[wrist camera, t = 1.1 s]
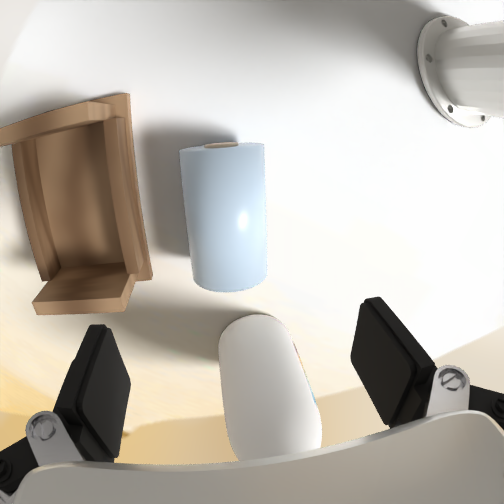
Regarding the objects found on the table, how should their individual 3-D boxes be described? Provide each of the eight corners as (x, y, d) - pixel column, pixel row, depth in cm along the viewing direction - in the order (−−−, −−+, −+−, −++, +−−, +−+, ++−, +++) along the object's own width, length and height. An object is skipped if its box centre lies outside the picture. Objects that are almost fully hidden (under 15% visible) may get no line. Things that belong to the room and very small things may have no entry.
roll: (182, 144, 23) (174, 151, 18) (256, 139, 24) (271, 144, 19) (194, 262, 28) (192, 298, 22) (261, 256, 28) (274, 289, 23)
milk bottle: (203, 347, 32) (214, 532, 13) (250, 298, 30) (303, 498, 12) (256, 375, 34) (293, 535, 16) (304, 333, 33) (374, 499, 15)
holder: (129, 93, 21) (101, 85, 14) (152, 274, 27) (140, 319, 21) (28, 119, 20) (-19, 124, 13) (60, 282, 26) (31, 323, 20)
